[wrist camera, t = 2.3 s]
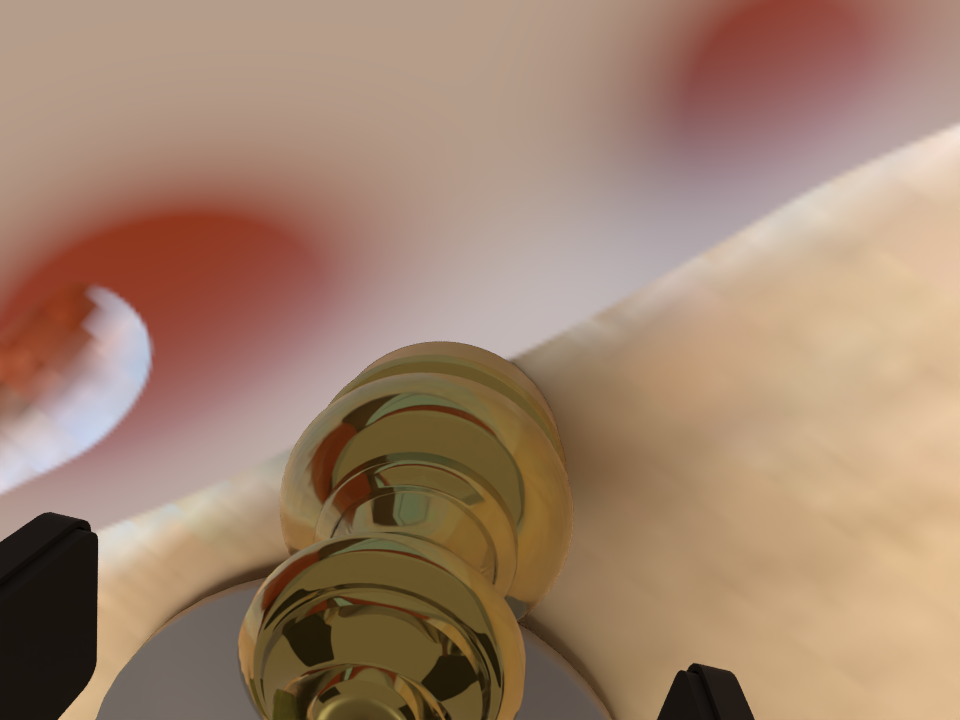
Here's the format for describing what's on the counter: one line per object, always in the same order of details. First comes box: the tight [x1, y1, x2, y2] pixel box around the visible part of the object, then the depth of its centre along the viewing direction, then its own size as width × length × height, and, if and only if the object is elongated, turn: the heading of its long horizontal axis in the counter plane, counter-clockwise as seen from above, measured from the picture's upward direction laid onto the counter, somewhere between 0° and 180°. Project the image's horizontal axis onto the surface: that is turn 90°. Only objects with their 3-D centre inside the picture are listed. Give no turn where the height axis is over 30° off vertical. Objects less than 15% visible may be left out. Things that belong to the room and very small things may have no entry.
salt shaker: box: [237, 342, 574, 720], centre depth 13 cm, size 7×7×10 cm
